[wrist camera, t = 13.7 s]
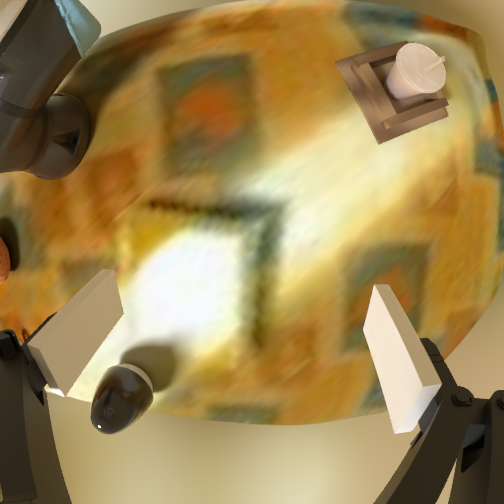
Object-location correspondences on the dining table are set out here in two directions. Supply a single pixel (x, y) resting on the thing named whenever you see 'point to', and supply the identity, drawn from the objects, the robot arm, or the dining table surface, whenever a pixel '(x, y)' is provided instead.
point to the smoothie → (415, 72)
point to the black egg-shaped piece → (120, 398)
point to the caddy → (380, 103)
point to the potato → (4, 261)
